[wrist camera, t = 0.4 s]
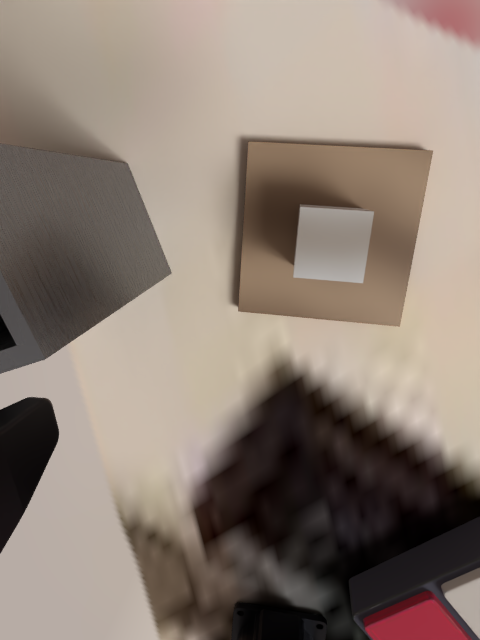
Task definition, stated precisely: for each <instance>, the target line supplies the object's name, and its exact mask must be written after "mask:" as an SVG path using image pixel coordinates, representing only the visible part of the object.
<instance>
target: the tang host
mask: <svg viewBox="0 0 480 640" xmlns="http://www.w3.org/2000/svg"><path fill="white" fill-rule="evenodd" d="M432 154H433V151H430V150H410V149H390V148H370V147H350V146H329V145H309V144H289V143H269V142H249V141H248V155H247V172H246V189H245V206H244V222H243V239H242V256H241V273H240V289H239V306H238V311H240V312H251V313H261V314H272V315H283V316H293V317H304V318H314V319H325V320H336V321H346V322H357V323H368V324H378V325H389V326H399V327H400V322H401V317H402V312H403V306H404V301H405V296H406V291H407V285H408V280H409V275H410V270H411V264H412V259H413V254H414V249H415V243H416V238H417V233H418V228H419V222H420V217H421V212H422V207H423V201H424V196H425V191H426V185H427V180H428V175H429V170H430V164H431V159H432Z"/></svg>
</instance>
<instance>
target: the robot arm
mask: <svg viewBox="0 0 480 640" xmlns="http://www.w3.org/2000/svg"><path fill="white" fill-rule="evenodd" d="M58 438H59V429H58V425H57V421H56V417H55V414H54V410H53V406H52V403H51V401H50V400H49V399H46V398H36V397H29V398H25V399H23V400H21V401H19V402H17V403H15V404H12V405H10V406H8V407H6V408H3V409H1V410H0V553H1V552H2V550H3V548H4V546H5V545H6V543H7V541H8V540H9V538H10V536H11V535H12V533H13V531H14V529H15V528H16V526H17V524H18V523H19V521H20V519H21V517H22V515H23V514H24V512H25V510H26V508H27V506H28V504H29V502H30V500H31V497H32V495H33V493H34V491H35V489H36V487H37V485H38V483H39V481H40V479H41V476H42V474H43V472H44V470H45V468H46V466H47V463H48V461H49V459H50V457H51V455H52V453H53V451H54V448H55V447H56V444H57V442H58ZM326 631H327V620H326V619H325V618H324V617H323V616H319V615H313V614H307V613H301V612H295V611H289V610H283V609H277V608H271V607H265V606H259V605H254V604H248V603H241V602H239V603H236V604H235V606H234V612H233V626H232V639H231V640H325V637H326Z"/></svg>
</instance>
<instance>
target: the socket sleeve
mask: <svg viewBox="0 0 480 640" xmlns="http://www.w3.org/2000/svg"><path fill="white" fill-rule="evenodd" d="M170 274H171V270H170V268H169V265H168V263H167V260H166V258H165V255H164V253H163V250H162V248H161V245H160V243H159V240H158V238H157V235H156V233H155V230H154V228H153V225H152V223H151V220H150V218H149V215H148V213H147V211H146V208H145V206H144V203H143V201H142V198H141V196H140V193H139V191H138V188H137V186H136V183H135V181H134V178H133V176H132V173H131V171H130V168H129V166H128V163H122V162H116V161H109V160H103V159H96V158H90V157H83V156H77V155H70V154H64V153H58V152H51V151H45V150H38V149H32V148H25V147H19V146H12V145H6V144H0V374H1V373H4V372H7V371H10V370H13V369H16V368H19V367H22V366H26V365H29V364H32V363H35V362H38V361H41V360H45V359H46V358H48V357H49V356H51V355H52V354H54V353H55V352H57V351H58V350H60V349H61V348H62V347H64V346H65V345H67V344H68V343H70V342H71V341H73V340H74V339H76V338H77V337H79V336H80V335H82V334H83V333H85V332H86V331H88V330H89V329H90V328H92V327H93V326H95V325H96V324H98V323H99V322H101V321H102V320H104V319H105V318H107V317H108V316H110V315H111V314H112V313H114V312H115V311H117V310H118V309H120V308H121V307H123V306H124V305H126V304H127V303H129V302H130V301H132V300H133V299H135V298H136V297H137V296H139V295H140V294H142V293H143V292H145V291H146V290H148V289H149V288H151V287H152V286H154V285H155V284H157V283H158V282H159V281H161V280H162V279H164V278H165V277H167V276H168V275H170Z"/></svg>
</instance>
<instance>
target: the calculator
mask: <svg viewBox="0 0 480 640" xmlns="http://www.w3.org/2000/svg"><path fill="white" fill-rule="evenodd" d="M349 591H350V600H351V609H352V617H353V619H354V621H355V622H356V623H357V624H358V626H359V627H360V628H361V629H362V630H363V631H364V633H365V634H366V635H367V636H368V637H369V638H370V639H371V640H480V517H477V518H475V519H473V520H471V521H469V522H467V523H465V524H463V525H461V526H459V527H456V528H454V529H452V530H450V531H448V532H446V533H444V534H442V535H440V536H438V537H435V538H433V539H431V540H429V541H427V542H425V543H423V544H421V545H419V546H417V547H415V548H412V549H410V550H408V551H406V552H404V553H402V554H400V555H398V556H396V557H394V558H391V559H389V560H387V561H385V562H383V563H381V564H379V565H377V566H375V567H373V568H371V569H368V570H366V571H364V572H362V573H360V574H358V575H356V576H354V577H352V578H350V579H349Z"/></svg>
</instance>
